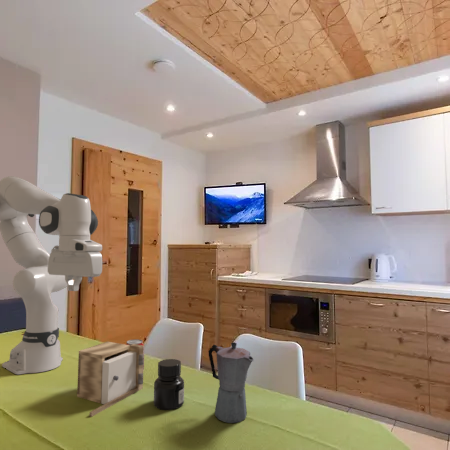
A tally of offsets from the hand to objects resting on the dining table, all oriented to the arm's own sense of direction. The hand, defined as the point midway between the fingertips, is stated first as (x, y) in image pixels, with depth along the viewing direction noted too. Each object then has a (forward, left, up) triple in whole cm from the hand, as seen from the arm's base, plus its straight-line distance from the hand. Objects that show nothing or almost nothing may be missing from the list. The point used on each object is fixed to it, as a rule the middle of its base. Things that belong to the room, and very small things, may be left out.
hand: (73, 290), depth 102 cm
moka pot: (+46, +15, -33) cm, 59 cm away
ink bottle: (+27, +13, -33) cm, 45 cm away
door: (+11, +10, -33) cm, 36 cm away
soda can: (+2, +26, -33) cm, 42 cm away
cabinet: (+7, +7, -33) cm, 35 cm away
